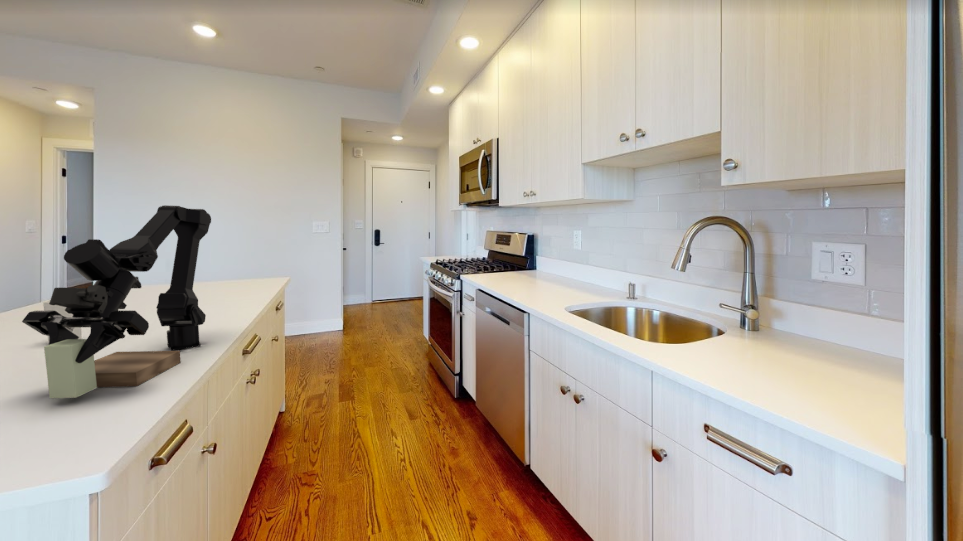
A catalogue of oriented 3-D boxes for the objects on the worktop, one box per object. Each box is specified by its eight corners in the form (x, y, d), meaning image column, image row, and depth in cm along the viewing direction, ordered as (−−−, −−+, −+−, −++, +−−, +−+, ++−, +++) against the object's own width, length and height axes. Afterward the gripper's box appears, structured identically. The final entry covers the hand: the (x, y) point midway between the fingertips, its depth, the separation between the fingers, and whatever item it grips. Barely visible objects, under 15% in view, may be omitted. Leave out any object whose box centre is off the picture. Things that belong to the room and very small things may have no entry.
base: (117, 363, 91) (116, 351, 91) (180, 362, 93) (180, 350, 93) (61, 387, 78) (60, 373, 77) (137, 386, 79) (136, 372, 79)
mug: (83, 342, 106) (80, 300, 105) (47, 347, 101) (43, 303, 100) (81, 335, 113) (77, 295, 112) (47, 339, 108) (42, 298, 107)
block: (71, 388, 75) (66, 339, 74) (96, 387, 75) (92, 339, 74) (49, 398, 70) (44, 346, 69) (76, 397, 71) (71, 346, 70)
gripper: (26, 270, 73) (-36, 343, 63) (134, 271, 75) (89, 341, 66) (69, 301, 81) (20, 370, 72) (164, 302, 84) (129, 368, 74)
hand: (63, 362), depth 71 cm, fingers closed on block, 4 cm apart
